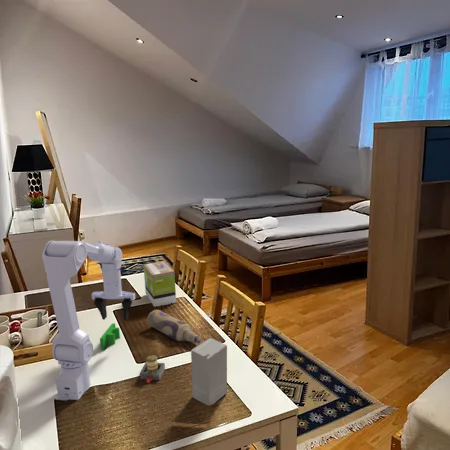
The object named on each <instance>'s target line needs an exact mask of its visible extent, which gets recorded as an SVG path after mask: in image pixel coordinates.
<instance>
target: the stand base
mask: <svg viewBox="0 0 450 450" xmlns="http://www.w3.org/2000/svg"><path fill="white" fill-rule="evenodd" d="M165 369H166V367H165V362H158V373H154V372H147V362H145V363H144V365H143V367H142V368H141V370H140V372H139V380H146V383H147V384H150V383H151V382H153V381H160V380H161V378H162V376H163V374H164V372H165Z"/></svg>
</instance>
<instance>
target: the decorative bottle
mask: <svg viewBox="0 0 450 450" xmlns="http://www.w3.org/2000/svg"><path fill="white" fill-rule="evenodd" d="M147 315H148V316H147V318H146V322H147V324H148V325H149V327H150V328H151V327H152V328H153V329H155V330H157V331H159V332H161V333H163V334H164V335H166V336H168V337H169V338H170V339H171V340H174V341H176V342H192V343H194V344H195V343H197V344H201V343H202V340H201V338H200V337H199V335H197V334H196V333H195V332H194V331H192V328H191V326H190V324H188V323H186V322H184V321H182V320H180V319H178V318H176V317H174V316H171V315H169V313H165V312H163V311H162V310H161V309H154V310H152V311H151V312H149V314H147Z"/></svg>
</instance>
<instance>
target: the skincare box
mask: <svg viewBox="0 0 450 450" xmlns="http://www.w3.org/2000/svg"><path fill="white" fill-rule="evenodd" d="M190 351H191V352H190V354H191V355H190V356H191V357H190V359H191V360H190V361H191V362H190V363H191V384H192V385H191V389H192V390H191V391H192V393H191V395H192V398H193V399H195V400H197V401H199V402H200V403H202V404H204V405H206V406H208V407H209V406H213V405H214V404H215V403H216V402H218V401H219V400H220V399H221V398H222V397H224V395H226V394H227V393H228V385H227V384H228V345H227V344H225V343H223V342H220V341H218V340H216V339H215V338H213V337H209V338H208V339H206V340H205V341H203V342H200V343H199V344H198V345H197V346H195V347H193V348H192V349H191V350H190Z"/></svg>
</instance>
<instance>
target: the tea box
mask: <svg viewBox="0 0 450 450" xmlns="http://www.w3.org/2000/svg"><path fill="white" fill-rule="evenodd" d="M175 276H176V275H175V270H173V269H172V268H171V266H170V265H169V264H168V263H167V262H166V261H165V260H161V261H157V262H151V263H146V264H143V278H144V288H145V289H144V290H145V295H146V297H147V299H149V301H150V302H151V304H152V306H153V307H155V308H156V306H157V307H162V306H165V305H171V303H172V304H175V303H177V295H176V294H177V293H176V291H177V290H176V277H175ZM161 305H162V306H161Z"/></svg>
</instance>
